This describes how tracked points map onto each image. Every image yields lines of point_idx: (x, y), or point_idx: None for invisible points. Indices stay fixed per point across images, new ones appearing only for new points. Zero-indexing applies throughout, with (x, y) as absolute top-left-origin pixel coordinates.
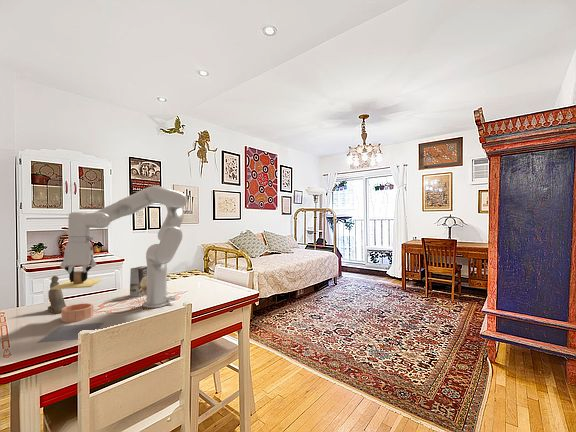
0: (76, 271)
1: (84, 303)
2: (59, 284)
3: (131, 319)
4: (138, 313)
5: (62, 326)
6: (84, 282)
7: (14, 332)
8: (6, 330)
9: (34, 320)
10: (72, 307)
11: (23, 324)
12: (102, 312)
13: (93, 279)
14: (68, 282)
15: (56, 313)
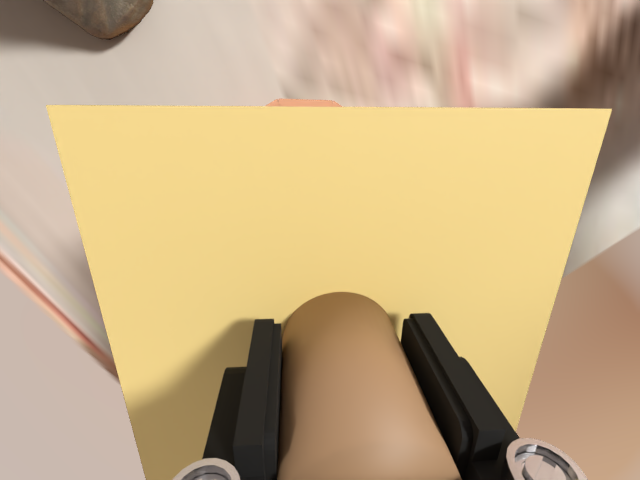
0: (305, 475)
1: (315, 105)
2: (127, 371)
3: (572, 264)
4: (614, 174)
5: None
6: (402, 319)
7: (100, 324)
8: (34, 293)
9: (55, 160)
10: None
11: (47, 221)
12: (414, 92)
13: (483, 127)
14: (175, 274)
15: (105, 38)
